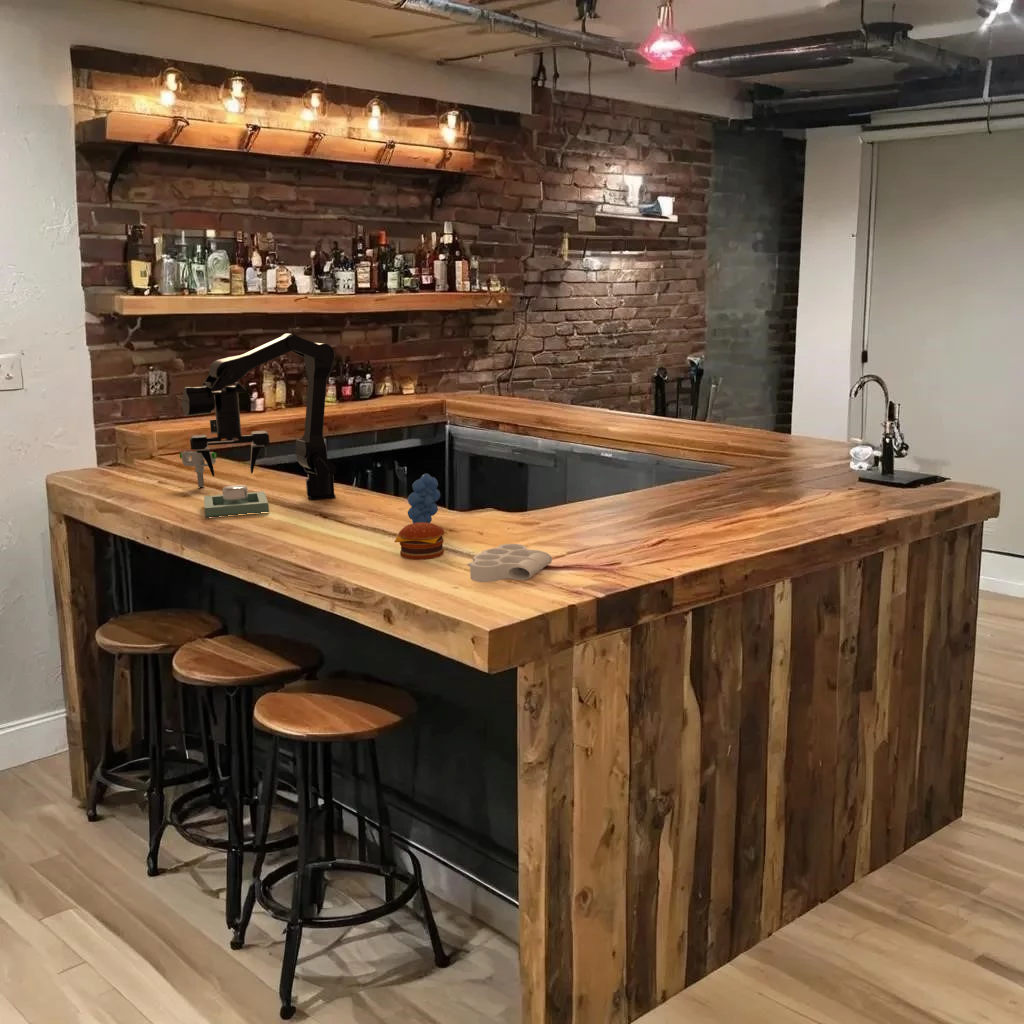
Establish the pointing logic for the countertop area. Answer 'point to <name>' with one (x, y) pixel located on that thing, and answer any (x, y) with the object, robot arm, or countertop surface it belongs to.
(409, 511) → the grapes
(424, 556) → the hamburger
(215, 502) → the socket frame
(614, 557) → the countertop surface
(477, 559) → the multi-hole tube bracket
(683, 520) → the countertop surface
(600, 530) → the countertop surface
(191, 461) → the mechanical component
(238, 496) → the silver rounded cylinder
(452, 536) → the countertop surface
